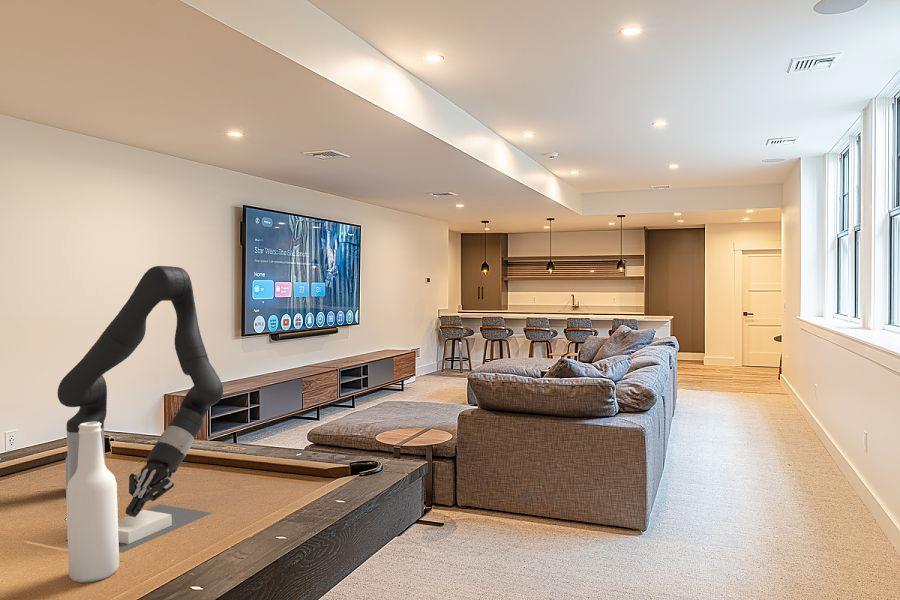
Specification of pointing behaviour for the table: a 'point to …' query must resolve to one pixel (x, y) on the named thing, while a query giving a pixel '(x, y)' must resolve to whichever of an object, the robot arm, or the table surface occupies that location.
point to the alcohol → (92, 512)
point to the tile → (142, 525)
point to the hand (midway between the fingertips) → (130, 515)
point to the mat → (178, 520)
